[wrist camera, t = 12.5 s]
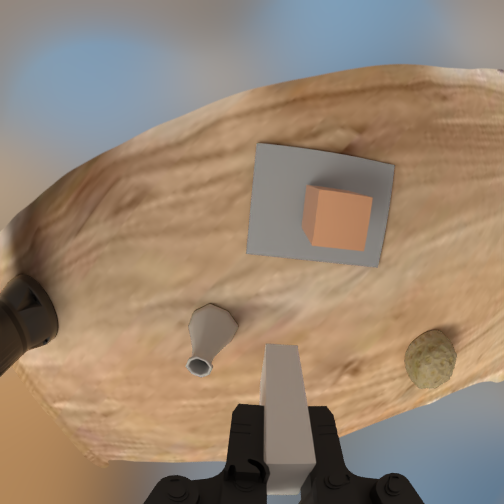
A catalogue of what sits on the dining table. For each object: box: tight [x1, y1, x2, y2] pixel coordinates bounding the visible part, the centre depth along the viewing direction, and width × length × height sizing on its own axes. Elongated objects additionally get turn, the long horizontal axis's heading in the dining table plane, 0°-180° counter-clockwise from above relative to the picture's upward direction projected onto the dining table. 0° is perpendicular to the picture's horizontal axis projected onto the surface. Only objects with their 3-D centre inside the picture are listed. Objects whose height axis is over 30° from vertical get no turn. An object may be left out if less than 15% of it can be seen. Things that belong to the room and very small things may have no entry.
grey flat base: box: [246, 143, 395, 268], centre depth 30 cm, size 18×14×10 cm
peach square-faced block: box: [301, 185, 373, 251], centre depth 29 cm, size 5×5×9 cm
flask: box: [186, 304, 239, 377], centre depth 36 cm, size 7×7×10 cm
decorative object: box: [404, 330, 457, 389], centre depth 38 cm, size 9×10×10 cm
